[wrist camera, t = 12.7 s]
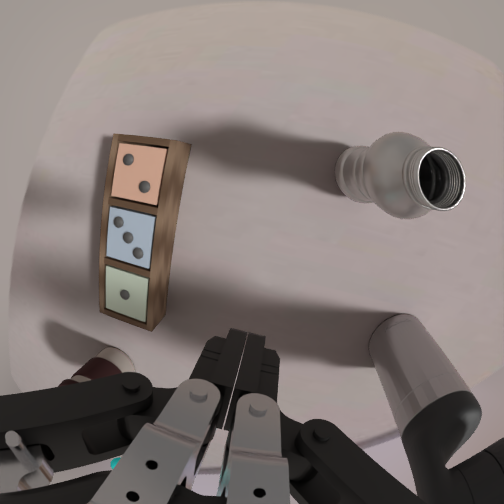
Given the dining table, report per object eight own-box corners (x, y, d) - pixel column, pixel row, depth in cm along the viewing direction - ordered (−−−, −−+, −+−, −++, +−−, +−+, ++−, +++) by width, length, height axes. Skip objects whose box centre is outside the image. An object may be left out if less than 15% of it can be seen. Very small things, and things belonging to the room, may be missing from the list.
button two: (166, 202, 33) (155, 205, 30) (123, 193, 33) (110, 195, 30) (176, 150, 31) (165, 148, 28) (131, 144, 32) (118, 143, 29)
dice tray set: (165, 314, 40) (151, 331, 35) (116, 298, 40) (99, 312, 35) (191, 144, 33) (176, 140, 28) (133, 137, 33) (113, 133, 28)
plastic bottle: (360, 211, 33) (443, 260, 14) (319, 175, 32) (368, 178, 13) (391, 173, 31) (496, 182, 12) (352, 136, 30) (431, 98, 11)
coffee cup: (121, 387, 46) (85, 439, 32) (88, 348, 44) (43, 395, 30) (152, 375, 44) (116, 436, 29) (116, 332, 42) (67, 385, 28)
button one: (154, 312, 38) (144, 322, 35) (116, 299, 38) (105, 308, 35) (157, 271, 36) (147, 279, 33) (117, 259, 36) (105, 266, 33)
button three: (158, 261, 35) (147, 269, 32) (118, 249, 36) (105, 256, 33) (164, 213, 34) (153, 217, 31) (122, 203, 34) (109, 207, 31)
